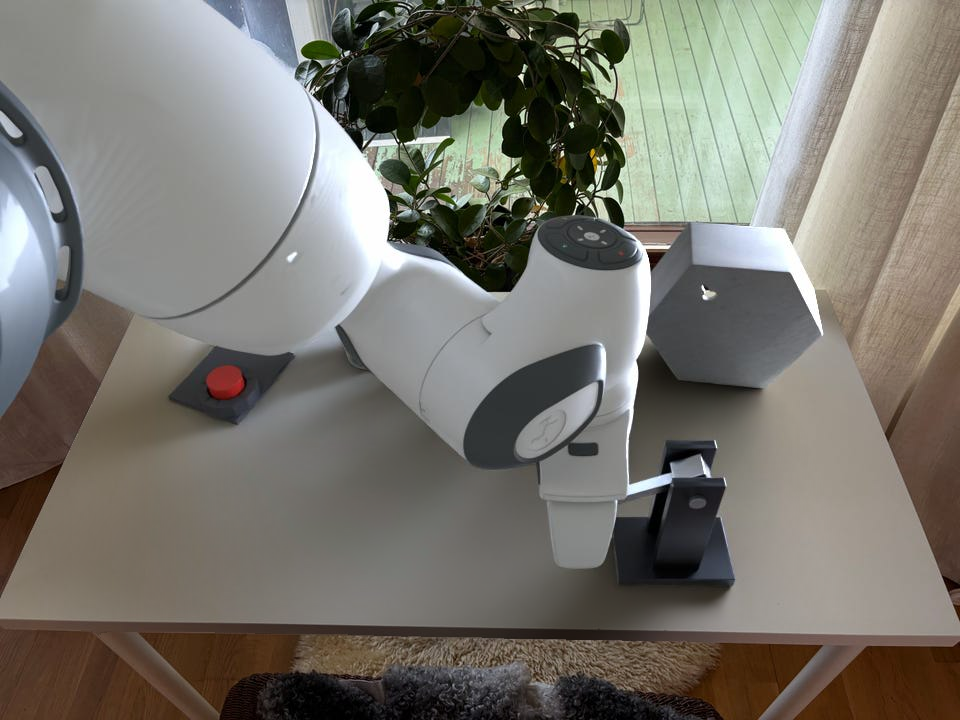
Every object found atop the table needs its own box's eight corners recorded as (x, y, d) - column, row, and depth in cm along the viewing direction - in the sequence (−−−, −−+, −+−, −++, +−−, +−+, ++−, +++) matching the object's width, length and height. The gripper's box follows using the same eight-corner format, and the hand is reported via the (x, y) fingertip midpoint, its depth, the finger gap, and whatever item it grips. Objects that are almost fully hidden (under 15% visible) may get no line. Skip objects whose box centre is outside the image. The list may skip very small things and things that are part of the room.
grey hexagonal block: (829, 321, 94) (765, 190, 83) (839, 367, 88) (771, 233, 78) (695, 363, 102) (620, 250, 91) (696, 407, 97) (617, 293, 86)
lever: (558, 538, 73) (543, 521, 71) (556, 509, 76) (542, 492, 74) (716, 495, 68) (704, 476, 66) (709, 465, 70) (698, 446, 68)
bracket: (617, 585, 76) (635, 496, 65) (610, 523, 80) (625, 431, 70) (733, 586, 75) (769, 496, 65) (719, 523, 80) (750, 430, 70)
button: (231, 404, 90) (227, 394, 89) (203, 394, 92) (199, 384, 90) (251, 381, 93) (248, 370, 92) (224, 371, 94) (220, 361, 93)
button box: (238, 428, 91) (233, 414, 89) (166, 402, 94) (160, 388, 92) (298, 358, 98) (294, 343, 97) (230, 336, 102) (225, 321, 100)
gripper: (532, 311, 69) (529, 413, 79) (541, 507, 55) (536, 602, 65) (604, 310, 69) (592, 412, 79) (632, 507, 55) (613, 602, 65)
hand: (567, 499), depth 72 cm, fingers closed, pressing on lever
